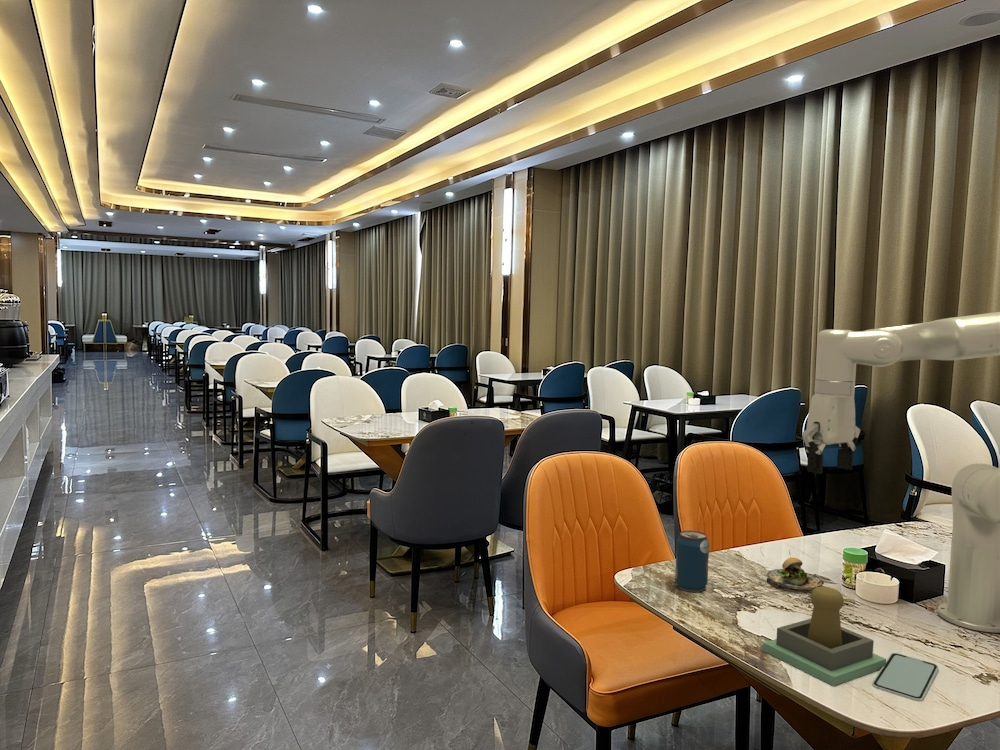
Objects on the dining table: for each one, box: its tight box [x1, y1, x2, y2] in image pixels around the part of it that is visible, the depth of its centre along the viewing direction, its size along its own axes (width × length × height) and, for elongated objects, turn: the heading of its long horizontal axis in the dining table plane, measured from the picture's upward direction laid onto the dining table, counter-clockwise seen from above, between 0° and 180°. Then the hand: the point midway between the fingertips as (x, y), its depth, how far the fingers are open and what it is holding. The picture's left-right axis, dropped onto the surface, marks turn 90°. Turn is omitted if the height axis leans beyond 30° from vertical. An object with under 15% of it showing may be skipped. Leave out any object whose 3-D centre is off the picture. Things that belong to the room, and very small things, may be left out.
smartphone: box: [871, 652, 939, 702], centre depth 119 cm, size 7×1×15 cm
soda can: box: [674, 530, 710, 593], centre depth 157 cm, size 7×7×12 cm
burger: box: [766, 549, 825, 591], centre depth 161 cm, size 12×12×8 cm
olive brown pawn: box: [807, 586, 844, 649], centre depth 124 cm, size 6×6×11 cm
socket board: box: [762, 618, 887, 687], centre depth 124 cm, size 14×14×4 cm
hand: (829, 470), depth 149 cm, fingers open, 9 cm apart
